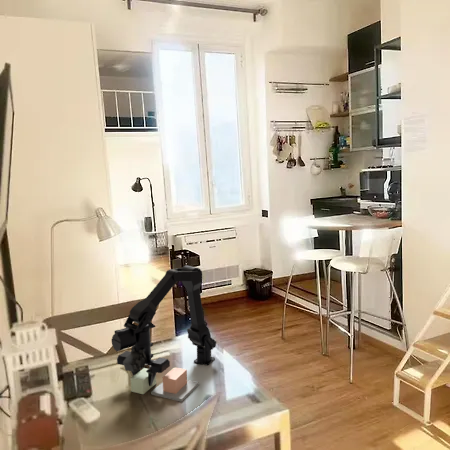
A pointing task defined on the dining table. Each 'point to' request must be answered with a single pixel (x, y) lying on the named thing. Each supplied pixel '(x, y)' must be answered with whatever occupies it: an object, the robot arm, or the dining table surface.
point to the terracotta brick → (175, 380)
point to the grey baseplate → (180, 394)
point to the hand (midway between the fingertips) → (144, 384)
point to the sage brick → (141, 382)
